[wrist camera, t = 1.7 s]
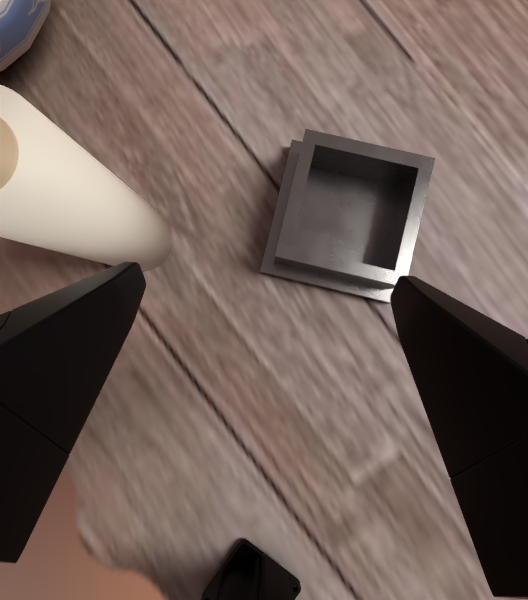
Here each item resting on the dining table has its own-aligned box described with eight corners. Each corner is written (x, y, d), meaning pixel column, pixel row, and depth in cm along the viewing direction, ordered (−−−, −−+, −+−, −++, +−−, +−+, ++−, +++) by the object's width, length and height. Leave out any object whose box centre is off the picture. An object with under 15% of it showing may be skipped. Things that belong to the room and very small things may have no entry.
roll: (146, 284, 23) (-17, 256, 10) (95, 245, 23) (-134, 167, 10) (185, 232, 23) (74, 135, 10) (134, 194, 23) (-43, 48, 10)
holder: (388, 303, 23) (415, 303, 19) (260, 272, 23) (258, 265, 19) (418, 176, 23) (450, 148, 19) (291, 146, 23) (295, 113, 19)
